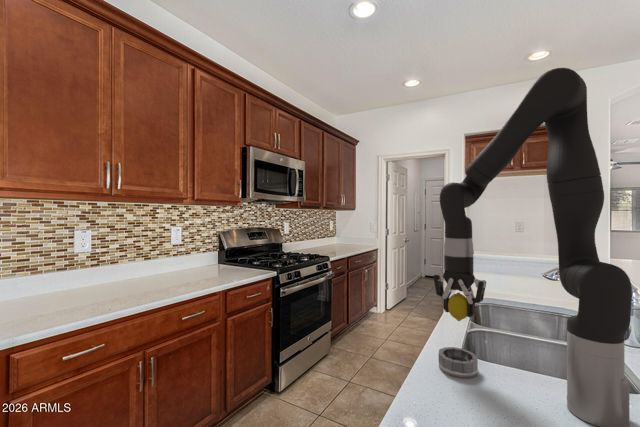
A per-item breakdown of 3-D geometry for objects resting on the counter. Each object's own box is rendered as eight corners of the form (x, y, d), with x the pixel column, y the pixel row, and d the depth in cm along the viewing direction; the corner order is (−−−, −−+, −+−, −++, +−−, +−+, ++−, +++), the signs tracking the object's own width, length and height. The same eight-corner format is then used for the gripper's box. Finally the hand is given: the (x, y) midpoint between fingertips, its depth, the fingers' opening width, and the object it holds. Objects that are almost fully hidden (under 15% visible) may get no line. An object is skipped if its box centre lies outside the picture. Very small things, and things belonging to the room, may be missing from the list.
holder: (476, 364, 88) (476, 350, 88) (478, 381, 79) (478, 366, 79) (439, 358, 92) (439, 344, 92) (437, 373, 83) (437, 358, 83)
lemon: (465, 326, 82) (465, 296, 82) (445, 321, 86) (444, 292, 86) (472, 320, 86) (472, 292, 86) (452, 316, 90) (452, 289, 90)
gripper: (427, 253, 88) (428, 311, 88) (481, 257, 78) (481, 324, 78) (439, 250, 94) (439, 306, 93) (490, 255, 83) (491, 317, 83)
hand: (458, 313), depth 86 cm, fingers closed on lemon, 5 cm apart
